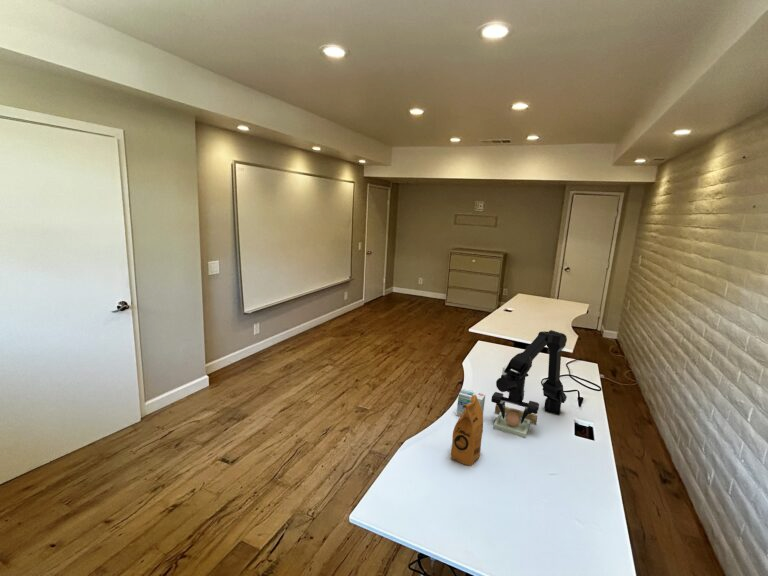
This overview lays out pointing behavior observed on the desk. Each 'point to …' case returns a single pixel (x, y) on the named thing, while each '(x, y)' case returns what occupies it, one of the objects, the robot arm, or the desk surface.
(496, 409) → the oak rail
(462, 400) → the light bulb box
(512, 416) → the ball
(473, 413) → the coffee package
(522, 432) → the sage tray
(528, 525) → the desk surface
